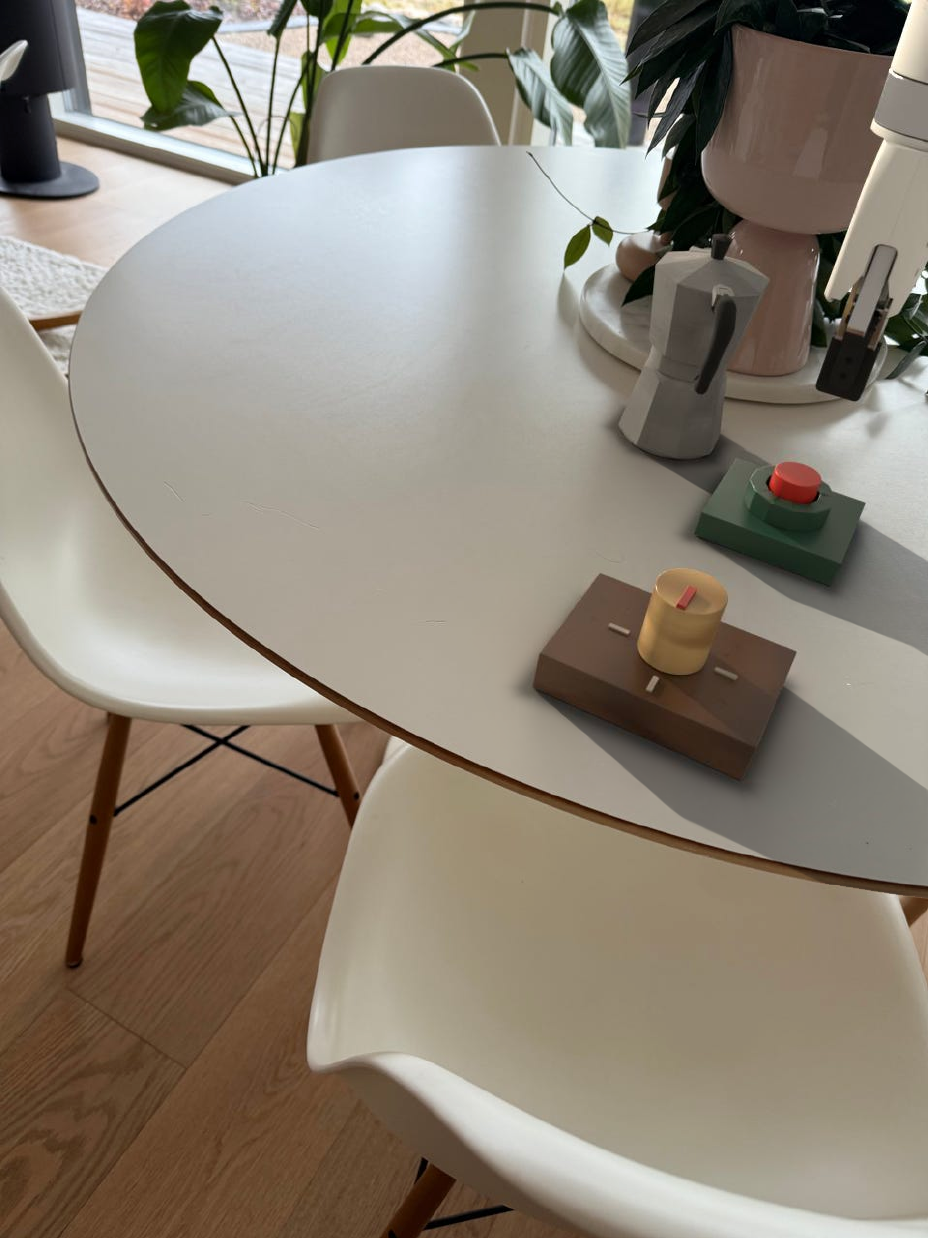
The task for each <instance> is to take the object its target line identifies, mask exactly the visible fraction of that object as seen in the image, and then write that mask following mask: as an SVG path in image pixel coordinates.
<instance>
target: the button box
mask: <svg viewBox="0 0 928 1238" xmlns="http://www.w3.org/2000/svg"><path fill="white" fill-rule="evenodd" d="M776 466H777V465H767V466H762V465H759V464H756V463H754V462H750V461H747V460H744V459H742V458H739V457H736V458H735V459H734V460H733V463H732V464H731V465H730V467H729V468H728V470H727V471H726V472H725V474H724V476H723V478H722V479H721V480H720V482H719V484H718V485H717V487H716V488H715V490H714V491H713V493H712V494H711V496H710V498H709V499H708V500H707V502H706V504H705V505H704V507H703V508H702V510H701V511H700V514H699V518H698V520H697V524H696V526H695V530H694V531H693V535H694V536H696V537H699V538H701V539H704V540H706V541H709V542H712V543H715V544H718V545H720V546H723V547H725V548H728V549H730V550H733V551H735V552H738V553H741V554H744V555H747V556H749V557H752V558H755V559H757V560H760V561H761V562H765V563H767V564H770V565H773V566H775V567H777V568H781V569H782V570H783V569H784V570H786V571H789V572H791V573H794V574H797V575H799V576H802V577H805V578H806V579H810V580H813V581H815V582H818V583H821V584H823V585H826V586H829V587H832V586H833V584H834V581H835V579H836V577H837V575H838V572H839V570H840V568H841V565H842V563H843V561H844V558H845V555H846V553H847V551H848V549H849V546H850V543H851V541H852V538H853V536H854V534H855V531H856V528H857V526H858V524H859V522H860V519H861V516H862V514H863V512H864V509H865V507H866V502H865V501H862V500H859V499H856V498H853V497H851V496H848V495H845V494H842V493H839V492H836V491H833V490H832V488H831V487H830V485H829V484H828V483H827V482H825V481H824V480H822V479H821V484H820V486H819V489H818V491H817V493H816V496H815V498H814V500H813V501H812V502H811V503H809V504H802V503H792V502H790V501H787V500H784V499H781V498H779V497H777V496H776V495H775V494H773V493H772V492H771V491H769V483H770V480H771V478H772V475H773V472H774V470H775V467H776Z"/></svg>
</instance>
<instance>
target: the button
mask: <svg viewBox="0 0 928 1238" xmlns="http://www.w3.org/2000/svg"><path fill="white" fill-rule="evenodd" d="M775 466H776V467H775V470H774V472H773V475H772V478H771V480H770V483H769V491H771V492H772V493H773V494H775V495H776V496H777V497H779V498H781V499H784V500H787V501H790V502H792V503H802V504H809V503H811V502H812V501H813V500H814V498H815V496H816V493H817V491H818V489H819V486H820V484H821V480H822V476H821V475H820V473H819V472H818V471H817V470H816V469H814V468H813V467H811V466H809V465H807V464H805V463H802V462H796V461H783V462H782V461H781V462H779V463H777V465H775Z"/></svg>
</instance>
